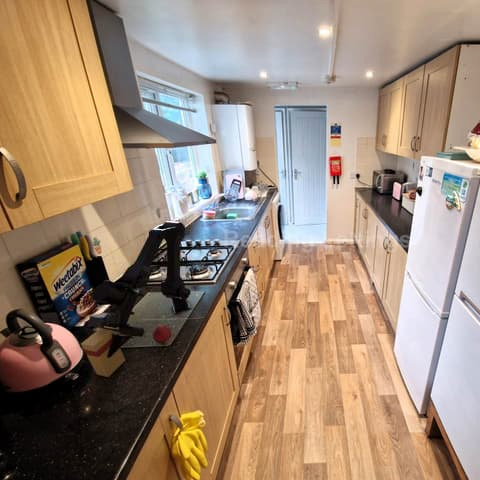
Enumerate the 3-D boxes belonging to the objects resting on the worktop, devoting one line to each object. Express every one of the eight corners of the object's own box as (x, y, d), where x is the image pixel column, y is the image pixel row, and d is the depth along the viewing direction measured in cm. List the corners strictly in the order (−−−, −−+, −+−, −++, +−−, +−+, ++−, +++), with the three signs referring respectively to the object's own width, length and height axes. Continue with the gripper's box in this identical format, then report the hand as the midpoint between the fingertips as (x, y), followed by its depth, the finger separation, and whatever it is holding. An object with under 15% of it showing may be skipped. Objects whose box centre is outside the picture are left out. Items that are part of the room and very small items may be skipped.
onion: (165, 349, 95) (160, 331, 92) (151, 346, 96) (146, 329, 93) (176, 338, 101) (172, 321, 98) (163, 335, 102) (158, 319, 99)
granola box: (96, 374, 85) (80, 343, 79) (114, 357, 91) (100, 327, 85) (108, 377, 84) (93, 346, 78) (125, 360, 90) (112, 330, 84)
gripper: (78, 299, 84) (52, 351, 78) (127, 306, 81) (103, 361, 75) (108, 305, 94) (88, 351, 89) (153, 311, 91) (134, 361, 85)
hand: (102, 356), depth 84 cm, fingers closed on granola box, 4 cm apart
